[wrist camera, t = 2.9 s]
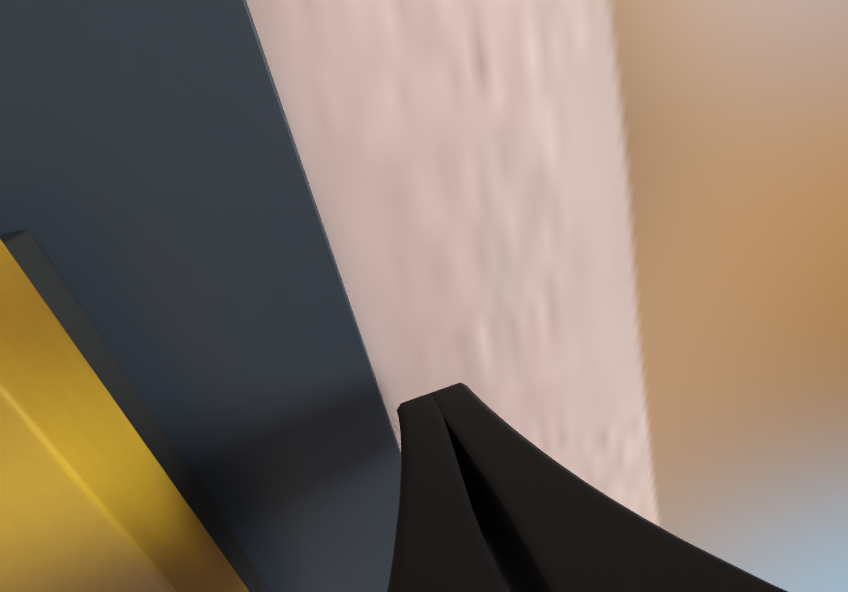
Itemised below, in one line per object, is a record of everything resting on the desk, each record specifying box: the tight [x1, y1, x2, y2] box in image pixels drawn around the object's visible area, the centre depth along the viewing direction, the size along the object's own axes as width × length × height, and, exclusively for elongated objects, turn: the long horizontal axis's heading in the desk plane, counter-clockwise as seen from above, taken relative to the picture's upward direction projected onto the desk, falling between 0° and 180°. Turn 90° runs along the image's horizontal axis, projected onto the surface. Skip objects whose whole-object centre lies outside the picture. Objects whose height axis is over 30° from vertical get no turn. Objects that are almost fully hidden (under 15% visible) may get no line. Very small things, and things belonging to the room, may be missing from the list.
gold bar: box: [0, 230, 271, 592], centre depth 8 cm, size 12×4×3 cm, turn 13°
